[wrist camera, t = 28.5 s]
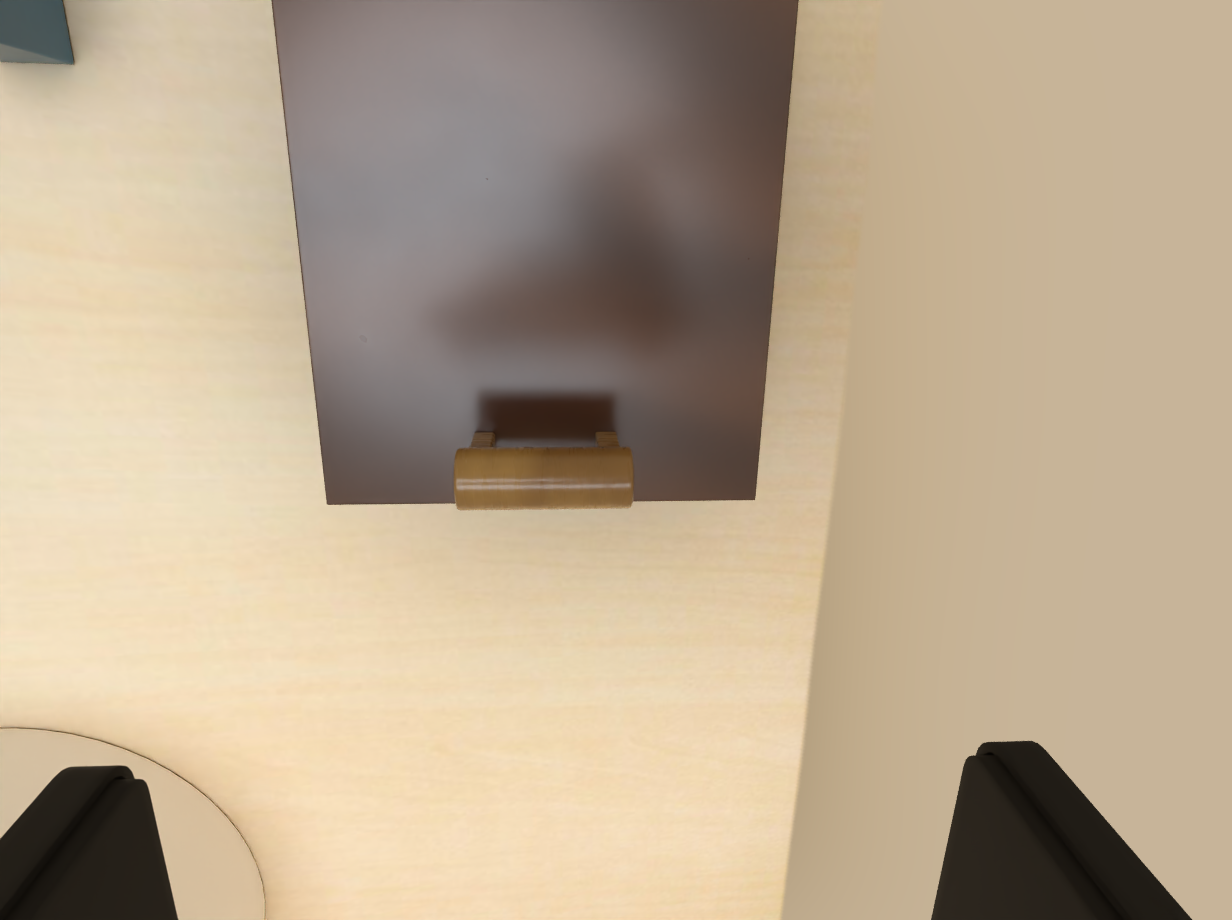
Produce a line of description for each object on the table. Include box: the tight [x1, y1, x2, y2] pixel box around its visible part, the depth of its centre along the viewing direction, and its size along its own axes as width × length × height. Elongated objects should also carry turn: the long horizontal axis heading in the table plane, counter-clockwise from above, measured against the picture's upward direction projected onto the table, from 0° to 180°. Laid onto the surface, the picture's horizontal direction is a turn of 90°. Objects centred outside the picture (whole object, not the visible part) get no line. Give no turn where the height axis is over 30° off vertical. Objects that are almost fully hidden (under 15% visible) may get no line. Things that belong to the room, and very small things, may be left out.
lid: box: [272, 0, 799, 510], centre depth 22 cm, size 17×15×5 cm
